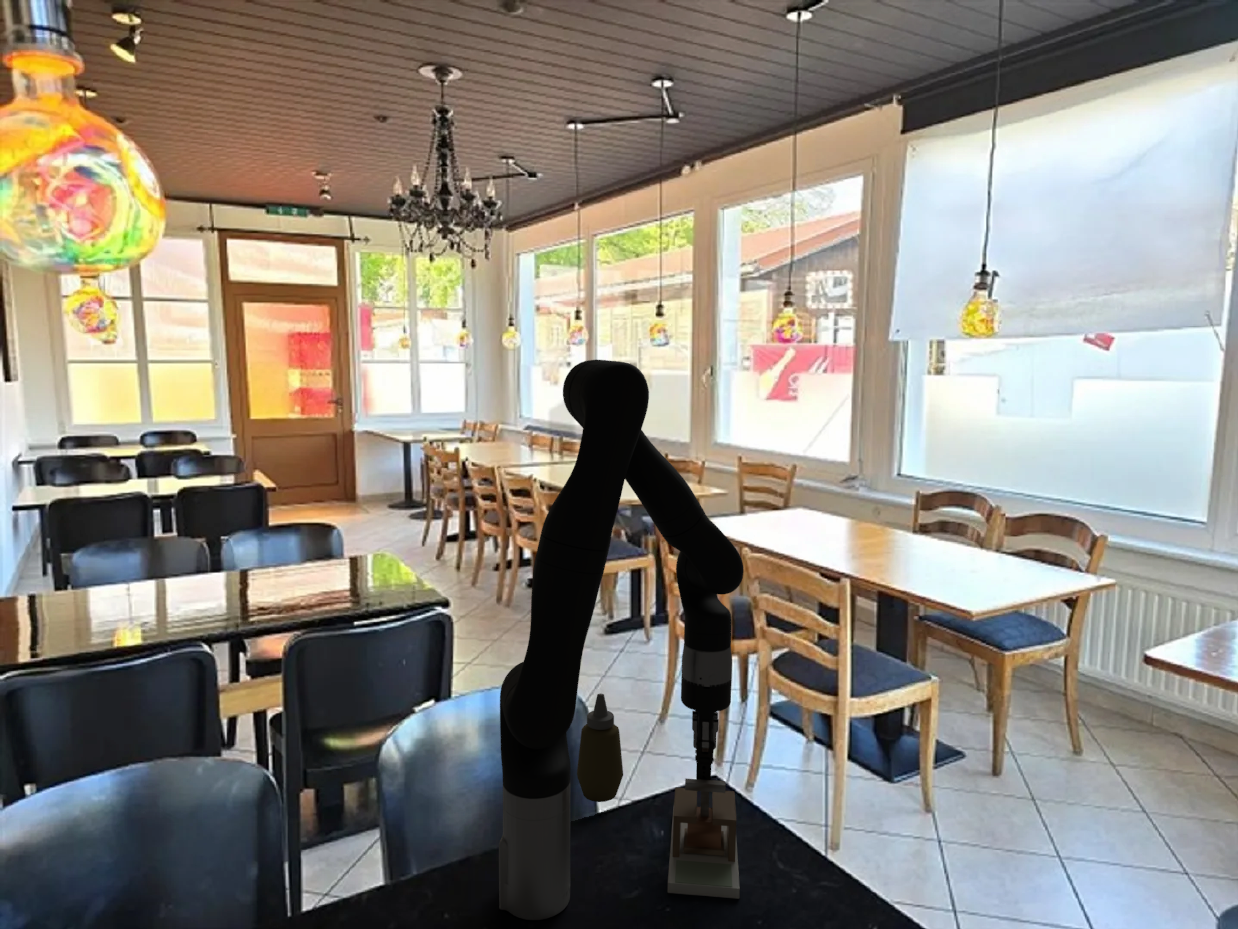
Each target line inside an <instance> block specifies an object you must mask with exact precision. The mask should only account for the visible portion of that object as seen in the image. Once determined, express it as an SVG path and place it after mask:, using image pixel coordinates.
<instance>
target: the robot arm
mask: <svg viewBox="0 0 1238 929" xmlns="http://www.w3.org/2000/svg"><path fill="white" fill-rule="evenodd" d="M562 386H563V387H562V397H563V403H564V405H565V408H566V410H567V412H568V413H569V414H570V415H571V417H572V418H573V419H574V420H575V421H576V422H577V424H578V425H579V426H580V427H581V428H582V432H581V438H580V442H579V449H578V453H577V457H576V461H575V462H574V465H573V468H572V471H571V472H570V475H569V477H568V479H567V480H566V482H565V484H564V486H563V487H562V489H561V490H560V492H559V494H558V495H557V496H556V498H555V499H554V502H553V503H552V504H551V506H550V508H549V510H548V512H547V513H546V514H547V515H546V517H545V518H544V522H543V525H542V529H541V533H540V537H539V541H538V545H537V548H536V549H537V550H536V554H535V559H534V563H533V564H534V565H533V571H532V581H531V582H532V583H531V595H530V596H531V598H530V600H531V601H530V627H529V628H530V629H529V637H528V642H527V648H526V651H525V656H524V659H523V661H522V662H519V663H518V664H517V665H515V666H514V667H512V668H511V669H510V670H509V671H508V673H507V674H506V675H505V677H504V679H503V681H502V683H501V686H500V687H501V688H500V693H499V726H500V727H499V729H500V730H499V731H500V732H499V733H500V734H499V736H500V758H501V759H500V760H501V770H502V836H501V837H500V838H501V839H500V840H499V843H498V883H499V884H498V889H499V890H498V894H499V896H498V900H499V902H498V903H499V904H498V905H499V907H498V908H499V910H501V911H507V912H508V913H509V914H511V915H513V916H514V917H516V918H519V919H523V920H525V921H526V920H527V921H542V920H547V919H549V918H553V917H554V916H556V915H557V916H558V914H560V913H561V912H563V911H564V910H565V908H567V906H568V905H569V902H570V900H571V774H572V773H571V758H570V754H569V752H570V750H569V745H568V737H567V736H568V734H567V732H568V731H569V729H570V727H571V725H572V723H573V720H574V719H575V718H574V717H575V712H576V707H577V706H576V705H577V698H578V688H579V680H580V673H581V666H582V659H583V652H584V647H585V642H586V639H587V635H588V633H589V629H590V625H591V623H592V619H593V615H594V611H595V607H596V604H597V602H596V601H597V599H598V594H599V590H600V588H601V587H600V586H601V583H602V579H603V577H604V576H603V575H604V572H605V568H606V564H607V559H608V555H609V550H610V547H611V540H612V535H613V530H614V526H615V521H616V517H617V513H618V510H619V505H620V501H621V497H622V493H623V489H624V484H625V481H626V482H627V483H628V486H630V488H631V489H632V491H633V492H634V494H635V496H636V497H637V499H638V500H639V501H640V504H641V505H642V506H643V508H644V509H645V511H646V513H647V514H648V516H649V517H650V519H651V520H652V522H653V524H654V526H655V527H656V528H657V530H658V532H659V533H660V535H661V537H662V538H663V539H664V540H665V541H666V543H667V544H669V545H670V546H671V547H672V548H674V549H676V550H678V551H679V553H678V556H677V559H676V564H675V572H676V573H675V574H676V582H677V587H678V591H679V598H680V602H681V606H682V609H683V610H682V611H683V614H684V623H683V624H684V628H683V630H684V632H683V634H684V635H683V650H682V656H681V678H680V679H681V682H680V683H681V686H680V701H681V703H682V704H683V705H684V706H685V707H686V708H687V709H690V710H692V713H691V716H692V717H691V721H692V722H691V724H692V725H691V730H692V731H693V735H692V736H693V737H692V738H693V742H692V743H693V748H694V749H695V750H694V753H695V755H694V758H695V759H694V760H695V761H696V762H695V763H696V774H695V776H696V777H695V779H701V780H712V765H713V763H714V761H715V760H714V759H715V758H714V751H715V749H717V733H718V732H719V726H720V725H719V723H720V722H719V712H721V711H725V710H726V709H727V708H729V706H730V705H731V702H732V680H733V679H732V675H733V673H732V672H733V656H732V655H733V654H732V628H733V627H732V626H733V625H732V614H731V612H730V610H729V609H728V607H726V605H724V604H723V602H721V601H720V599H719V597H718V595H722V596H723V595H729V594H731V593H733V592H734V591H736V590H737V589H738V587H739V586H740V585H741V583H742V582H743V577H744V572H745V571H744V564H743V559H742V557H741V555H740V553H739V551H738V549H737V548H736V547H735V545H734V544H733V543H732V542H731V541H730V539H729V538H728V537H727V536H726V535H725V534H724V532H722V530H720V528H719V527H718V526H717V525H716V524H715V523H714V522H713V521H711V519H710V518H709V517H708V516H707V514H706V512H705V510H704V508H703V507H702V504H701V503H700V502H699V500H698V498H697V496H696V495H695V493H694V492H693V490H692V488H691V487H690V486H689V484H688V483H687V481H686V479H684V477H683V476H682V475H681V473H680V472H679V471H678V470H677V469H676V468H675V467H674V466H673V464H671V462H670V461H668V459H667V458H666V457H665V456H664V455H663V454H662V453H661V452H660V451H659V450H658V449H657V448H656V446H655V445H654V444H653V443H652V442H651V440H650V439H649V438H648V437H647V435H646V434H645V433H644V431H643V425H644V422H645V419H646V416H647V412H648V408H649V400H650V391H649V385H648V382H647V379H646V377H645V375H644V374H643V372H642V371H641V370H640V369H639V368H638V367H637V366H635V365H634V364H631V363H629V362H625V361H616V360H606V359H589V360H588V359H587V360H584V361H581V362H579V363H578V364H576V365H574V366H573V367H572V368H571V369H570V370H569V372H568V373H567V374H566V376H565V379H564V381H563V385H562Z"/></svg>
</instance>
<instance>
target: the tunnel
mask: <svg viewBox="0 0 1238 929" xmlns="http://www.w3.org/2000/svg"><path fill="white" fill-rule="evenodd" d="M711 793H712V794H711V795H712V797H711V798H712V808H713V825H720V826H721V831H724V856H721V855H708V854H695V853H684V830H685V828H687V827H688V823H692V824H696V817H697V807H698V791H690V790H685V787H675V788H674V800H673V810H672V824H671V838H670V849H669V850H670V851H669V863H668V873H667V874H668V876H667V893H668V894H677V895H690V896H704V897H705V896H706V897H715V898H725V899H726V898H727V899H738V900H739V899H740V888H741V887H740V876H739V875H740V874H739V861H738V859H739V858H738V857H739V856H738V844H737V842H738V841H737V840H738V839H737V808H736V797H735V795H736V794H735V791H733V790H725V793H720V792H711Z"/></svg>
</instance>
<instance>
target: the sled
mask: <svg viewBox="0 0 1238 929" xmlns="http://www.w3.org/2000/svg"><path fill="white" fill-rule="evenodd" d="M684 781H685V782H684V788H685V790H690V791H697V792H700V806H697V817H696V824H692V823H688V827H687V828H685V830H684V853H695V854H708V855H721V856H724V831H721V826H720V825H713V807H710V793H712V792H720V793H725V791H726V786H727V785H726V780H714V779H711V780H701V779H696V778H684Z"/></svg>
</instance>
